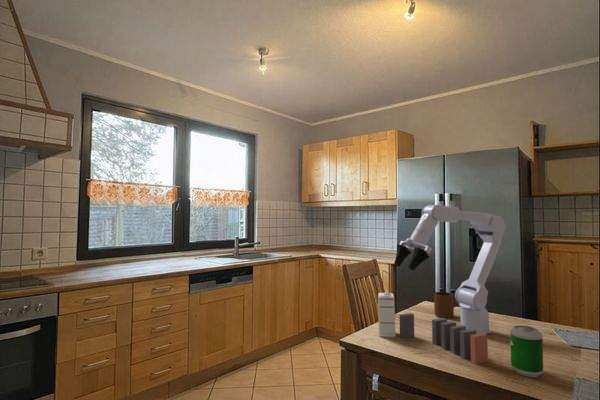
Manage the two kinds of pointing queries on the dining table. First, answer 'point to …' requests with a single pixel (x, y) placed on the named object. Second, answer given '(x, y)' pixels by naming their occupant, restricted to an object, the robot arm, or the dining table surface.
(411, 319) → the domino
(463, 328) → the domino
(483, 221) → the robot arm
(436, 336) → the domino
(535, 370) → the soda can
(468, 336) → the domino
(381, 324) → the syrup box
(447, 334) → the domino
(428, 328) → the dining table surface
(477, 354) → the domino
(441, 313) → the mug
